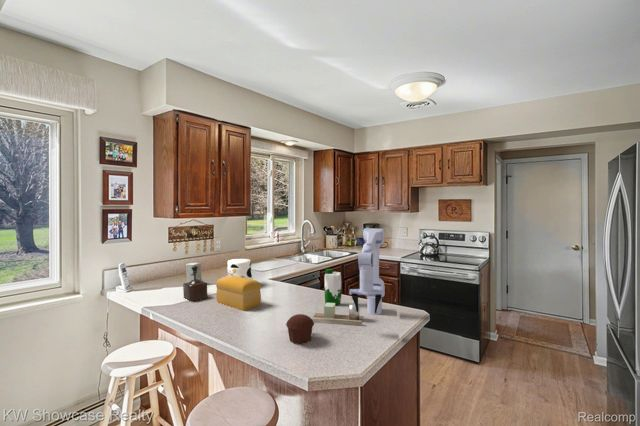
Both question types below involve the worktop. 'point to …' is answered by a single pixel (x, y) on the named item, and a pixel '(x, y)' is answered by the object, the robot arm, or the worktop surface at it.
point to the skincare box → (190, 271)
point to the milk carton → (332, 287)
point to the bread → (238, 292)
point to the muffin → (300, 328)
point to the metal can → (354, 312)
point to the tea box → (329, 310)
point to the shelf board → (336, 319)
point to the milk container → (239, 268)
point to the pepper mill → (195, 288)
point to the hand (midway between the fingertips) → (366, 311)
